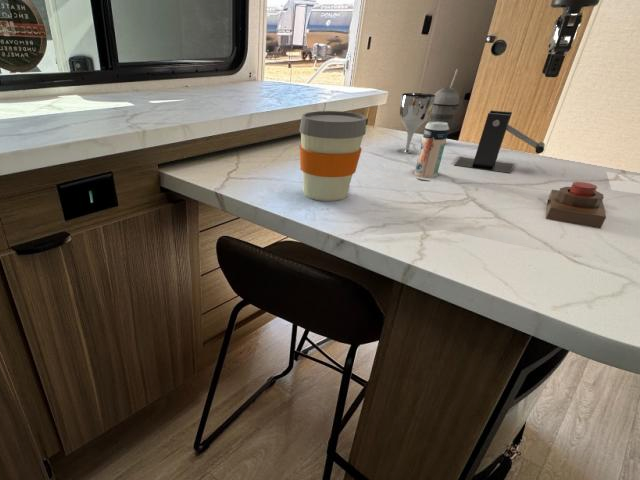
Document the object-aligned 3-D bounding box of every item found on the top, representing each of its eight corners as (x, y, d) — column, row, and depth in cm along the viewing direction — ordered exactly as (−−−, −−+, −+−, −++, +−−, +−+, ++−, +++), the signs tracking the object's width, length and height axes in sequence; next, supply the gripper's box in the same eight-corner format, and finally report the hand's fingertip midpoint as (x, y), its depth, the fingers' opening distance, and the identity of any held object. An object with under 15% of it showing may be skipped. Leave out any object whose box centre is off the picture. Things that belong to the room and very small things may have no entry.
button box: (547, 200, 83) (555, 180, 81) (596, 207, 79) (606, 187, 77) (545, 219, 75) (554, 197, 73) (600, 228, 71) (611, 206, 69)
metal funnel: (423, 161, 108) (439, 97, 99) (392, 159, 109) (404, 96, 101) (418, 153, 114) (432, 93, 106) (388, 152, 115) (399, 92, 107)
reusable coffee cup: (342, 182, 92) (352, 109, 84) (365, 202, 82) (379, 121, 74) (287, 185, 91) (292, 111, 82) (305, 206, 80) (312, 123, 72)
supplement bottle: (412, 175, 97) (424, 120, 91) (433, 176, 96) (447, 121, 90) (415, 181, 93) (428, 124, 87) (437, 182, 92) (452, 125, 86)
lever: (539, 152, 96) (548, 142, 94) (538, 156, 92) (547, 147, 91) (489, 121, 98) (497, 111, 97) (486, 124, 95) (495, 114, 93)
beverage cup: (427, 143, 125) (445, 67, 114) (451, 147, 120) (472, 68, 109) (415, 147, 120) (433, 68, 109) (439, 151, 116) (460, 70, 105)
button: (568, 189, 77) (572, 180, 76) (592, 193, 76) (596, 184, 75) (568, 195, 75) (573, 185, 74) (593, 199, 73) (597, 189, 72)
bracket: (511, 168, 102) (531, 112, 95) (508, 177, 96) (529, 118, 88) (459, 161, 107) (474, 107, 100) (452, 169, 101) (468, 113, 94)
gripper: (616, -30, 70) (575, 79, 78) (602, -23, 80) (567, 73, 89) (563, -27, 73) (529, 78, 81) (556, -20, 83) (526, 72, 92)
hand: (549, 75), depth 85 cm, fingers open, 8 cm apart
